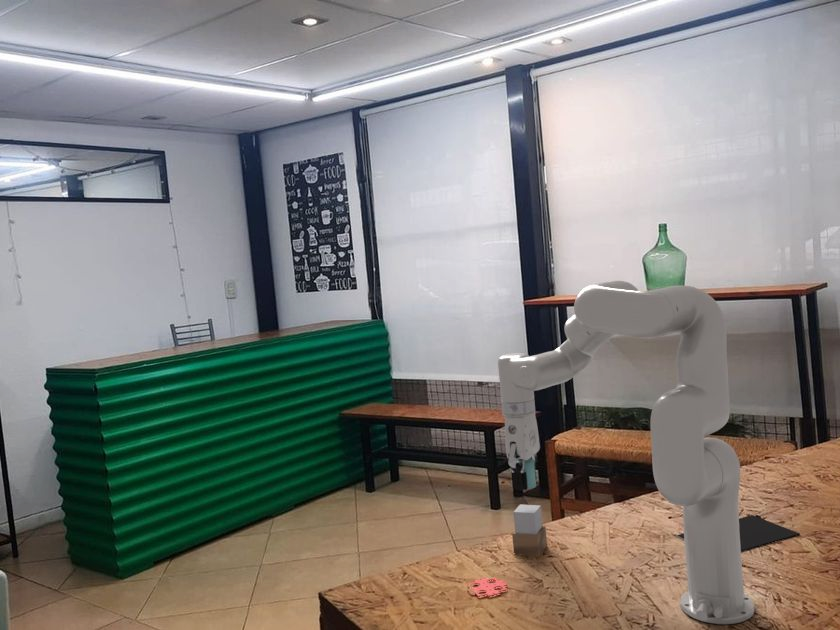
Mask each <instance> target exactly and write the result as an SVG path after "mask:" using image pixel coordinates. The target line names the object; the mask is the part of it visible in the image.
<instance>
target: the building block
mask: <svg viewBox="0 0 840 630" xmlns="http://www.w3.org/2000/svg"><path fill="white" fill-rule="evenodd" d="M490 580H491V581H492V580H493V581H495V582H490V583H488V581H490ZM474 581H475V582H474ZM473 583H475V584H479V585H480V586H473V587H472V586H471V587H472V589H474V593H476V594H477V596H478V597H480V596H485V595H487V596H488V597H490V596H494V595H497V594H500V592H501V591H506V590H507V591H508V588H505V587H504V586H507V587H508V584H507V583H506V582H505V581H504V580H503V579H500V580H498V579H497V577H495V576H494V577H490V578H487V577H484V578H479V579H474V580H473V582H469V583H468V584H469V586H470V584H471V585H472V584H473ZM471 587H470V589H471ZM496 587H501V588H502V589H496V590H495V588H496ZM472 591H473V590H472ZM478 591H486V593H480V594H479V593H478ZM471 593H473V592H471ZM488 597H487V598H488Z"/></svg>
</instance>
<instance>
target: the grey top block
mask: <svg viewBox="0 0 840 630" xmlns="http://www.w3.org/2000/svg"><path fill="white" fill-rule="evenodd" d="M542 516H543V515H542V506H541V505H537V504H523V503H522V504H519V505H518V506H517V507H516V508H515V510H513V520H514V521H513V523H514V531H515V533H521V534H534V535H537V533H538V532H539V531H540V529H541V528H542V527H543V526H544V525H543V517H542Z"/></svg>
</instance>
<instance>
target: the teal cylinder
mask: <svg viewBox="0 0 840 630" xmlns="http://www.w3.org/2000/svg"><path fill="white" fill-rule="evenodd" d="M518 458H519V459H521V458H520V457H518ZM516 462H517V463H519V464H520V466H521V461H516ZM534 465H535V464H534V459H532V458H530V459H528V460H525V472H526V474H527V486H528V488H527V490H532V489H534V488H536V487H537V483H536V482H537V478H536V479H535V471H536V466H535V467H534ZM518 490H520V489H518ZM527 490H526V491H527ZM520 491H521V490H520Z"/></svg>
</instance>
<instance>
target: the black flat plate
mask: <svg viewBox="0 0 840 630" xmlns="http://www.w3.org/2000/svg"><path fill="white" fill-rule="evenodd" d="M739 533H740V547H741V553H742V551H743V552H746V551H748V550H749V549H750V550H752V548H753V549H756V547H757V548H760V547H764V546H766V544H767V545H771V544H773V543H772V542H774V543H776V542H775V541H777V542H779V541H778V540H781V541H783V540H782V539H784V540H787V538H788V539H791V538H795V537H797V536H801V533H800V532H797V531H795V530H792V529H789V528H787V527H784V526H782V525H779V524H776V523H775V522H774V523H773V522H772V521H769V520H766V519H764V518H762V516H761V515H759V514H758V515H757V514H755V515H754V514H748V515H747V516H744V517H739ZM673 536H674V537H675V538H678V539H680V540H682V539H683V540H682V541H684V542H685V540H684V532H683V533H681V534H675V533H674V535H673ZM763 545H764V546H763ZM745 550H746V551H745Z"/></svg>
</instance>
